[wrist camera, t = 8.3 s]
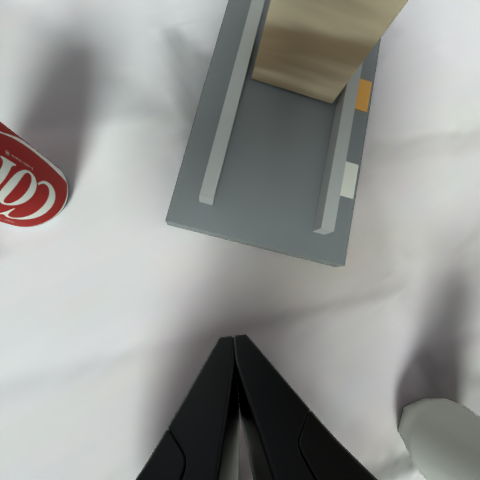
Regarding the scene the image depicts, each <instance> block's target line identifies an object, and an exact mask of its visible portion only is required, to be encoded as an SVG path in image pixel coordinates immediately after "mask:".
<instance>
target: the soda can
mask: <svg viewBox="0 0 480 480" xmlns="http://www.w3.org/2000/svg"><path fill="white" fill-rule="evenodd" d="M67 198H68V184H67V180H66V178H65V176H64V174H63V173H62V171H61V170H60V169H59V168H58V167H57V166H56V165H54V164H53V163H52V162H51V161H49V160H48V159H47V158H46V157H44V156H43V155H42V154H40V153H39V152H38V151H37V150H35V149H34V148H33V147H32V146H30V145H29V144H28V143H27V142H25V141H24V140H23V139H21V138H20V137H19V136H18V135H16V134H15V133H14V132H13V131H11V130H10V129H9V128H8V127H6V126H5V125H4V124H2V123H1V122H0V221H1V222H4V223H7V224H11V225H14V226H19V227H33V226H38V225H41V224H44V223H46V222H48V221H50V220H51V219H53V218H54V217H56V216H57V215H58V214H59V213H60V212H61V211H62V209H63V208H64V206H65V204H66V202H67Z"/></svg>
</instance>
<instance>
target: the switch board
mask: <svg viewBox="0 0 480 480" xmlns="http://www.w3.org/2000/svg"><path fill="white" fill-rule="evenodd" d="M270 1H271V0H229V1H228V4H227V8H226V11H225V15H224V18H223V22H222V25H221V29H220V32H219V36H218V39H217V43H216V46H215V49H214V53H213V56H212V60H211V63H210V67H209V70H208V74H207V77H206V81H205V84H204V88H203V91H202V95H201V98H200V102H199V105H198V109H197V112H196V116H195V119H194V123H193V126H192V130H191V133H190V137H189V140H188V144H187V147H186V151H185V154H184V157H183V161H182V164H181V168H180V171H179V175H178V178H177V182H176V185H175V189H174V192H173V196H172V199H171V203H170V206H169V210H168V213H167V217H166V220H165V221H166V222H167V224H168V225H171V226H175V227H179V228H183V229H187V230H191V231H195V232H199V233H203V234H207V235H211V236H215V237H219V238H223V239H227V240H231V241H235V242H239V243H243V244H247V245H251V246H255V247H259V248H263V249H267V250H271V251H275V252H279V253H283V254H287V255H291V256H295V257H298V258H302V259H306V260H310V261H314V262H318V263H322V264H326V265H330V266H334V267H337V266H345V260H346V253H347V247H348V241H349V234H350V228H351V222H352V216H353V209H354V203H355V197H356V190H357V184H358V178H359V172H360V165H361V159H362V153H363V146H364V140H365V134H366V128H367V121H368V115H369V109H370V102H371V96H372V90H373V84H374V77H375V71H376V65H377V58H378V52H379V46H380V40H381V38H380V39H379V40H378V42H377V43H376V45H375V46H374V47H373V49H372V50H371V51H370V53H369V54H368V55H367V57H366V58H365V59H364V61H363V62H362V64H361V65H360V66H359V68H358V69H357V70H356V72H355V73H354V74H353V76H352V77H351V78H350V80H349V81H348V83H347V84H346V85H345V87H344V88H343V89H342V91H341V92H340V93H339V95H338V96H337V97H336V99H335V100H334V102H333V103H332V104H331V103H328V102H325V101H321V100H318V99H315V98H312V97H309V96H306V95H302V94H299V93H296V92H293V91H290V90H287V89H283V88H280V87H277V86H274V85H271V84H268V83H264V82H261V81H258V80H255V79H252V74H253V70H254V66H255V62H256V58H257V54H258V50H259V46H260V42H261V38H262V34H263V30H264V26H265V22H266V17H267V13H268V9H269V5H270Z"/></svg>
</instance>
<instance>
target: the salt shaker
mask: <svg viewBox="0 0 480 480" xmlns="http://www.w3.org/2000/svg"><path fill="white" fill-rule="evenodd" d="M398 432H399V434H400V436H401V437H402V439H403V441H404V443H405V445H406V448H407V450H408V453H409V455H410V458H411V460H412V462H413V465H414V466H415V468H416V469H417V470H418V471H419V472H420V473H421V474H422V475H423V477H424V478H425V479H426V480H480V417H479V416H478V415H476V414H475V413H474V412H472V411H471V410H470V409H468V408H467V407H465V406H463V405H461V404H458V403H456V402H453V401H451V400H448V399H444V398H431V399H421V400H418V401H416V402H414V403H412V404H410V405H407V406H405V407H404V408H403V412H402V416H401V420H400V424H399V428H398Z"/></svg>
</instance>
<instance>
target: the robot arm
mask: <svg viewBox="0 0 480 480" xmlns="http://www.w3.org/2000/svg"><path fill="white" fill-rule="evenodd" d="M233 343H234V344H233ZM236 376H237V377H236ZM237 387H238V388H237ZM238 397H239V399H238ZM239 408H240V413H239ZM240 416H241V421H242V426H243V431H244V436H245V441H246V446H247V450H248V455H249V460H250V465H251V470H252V475H253V479H254V480H378V479H377V478H375V477H374V476H373V475H372V474H371V473H370V472H369V471H368V470H367V469H366V468H365V467H364V466H363V465H362V464H361V463H360V462H359V461H358V460H357V459H356V458H355V457H354V456H353V455H352V454H351V453H350V452H349V451H348V450H347V449H346V448H345V447H344V446H343V445H342V444H341V443H340V442H339V441H338V440H337V439H336V438H335V437H334V436H333V435H332V434H331V433H330V432H329V430H328V429H327V428H326V427H325V426H324V425H323V424H322V423H321V421H320V420H319V419H318V418H317V417H316V416H315V414H314V413H313V412H312V411H310V409H309V408H308V406H307V405H306V404H305V403H304V402H303V400H302V399H301V398H300V397H299V396H298V395H297V393H296V392H295V391H294V390H293V389H292V388H291V386H290V385H289V384H288V383H287V382H286V381H285V379H284V378H283V377H282V376H281V375H280V374H279V372H278V371H277V370H276V369H275V368H274V366H273V365H272V364H271V363H270V362H269V361H268V359H267V358H266V357H265V356H264V355H263V354H262V352H261V351H260V350H259V349H258V348H257V347H256V345H255V344H254V343H253V342H252V341H251V339H250V338H249V337H248V336H247V335H246V334H243V335H235V336H234V337H232V336H225V337H220V338H219V339H218V341H217V342H216V344H215V346H214V348H213V349H212V351H211V353H210V355H209V356H208V358H207V360H206V362H205V363H204V365H203V367H202V369H201V370H200V372H199V374H198V376H197V377H196V379H195V381H194V382H193V384H192V386H191V388H190V389H189V391H188V393H187V395H186V396H185V398H184V400H183V402H182V403H181V405H180V407H179V409H178V410H177V412H176V414H175V416H174V417H173V419H172V421H171V423H170V424H169V426H168V430H166V431H165V433H164V435H163V436H162V438H161V440H160V442H159V443H158V445H157V447H156V448H155V450H154V452H153V453H152V455H151V457H150V458H149V460H148V462H147V463H146V465H145V466H144V468H143V470H142V471H141V472H140V474H139V475H138V477H137V478H136V480H238V472H239V431H240Z"/></svg>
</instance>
